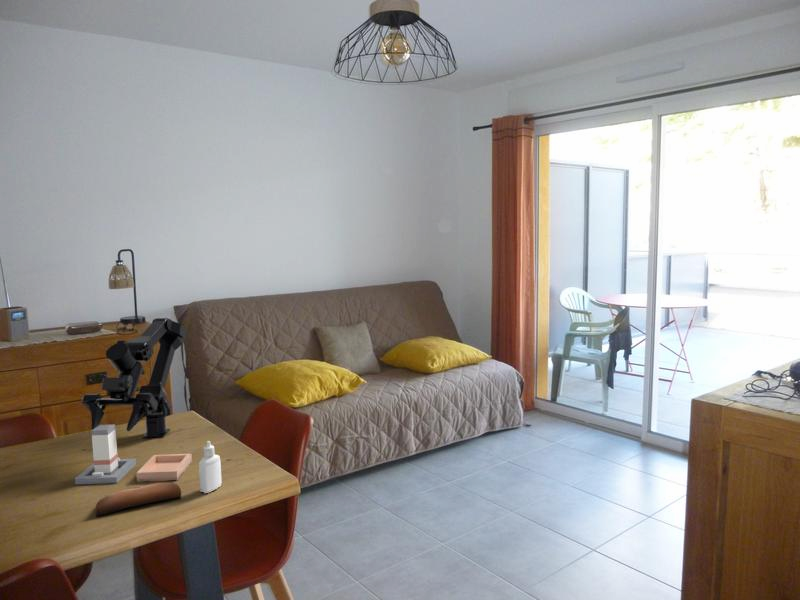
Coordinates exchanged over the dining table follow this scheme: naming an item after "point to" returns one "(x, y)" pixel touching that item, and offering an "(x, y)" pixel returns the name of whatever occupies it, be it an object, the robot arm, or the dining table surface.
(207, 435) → the dining table surface
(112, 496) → the sunglasses case
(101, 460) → the white rectangular block
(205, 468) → the eye dropper bottle
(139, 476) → the dish
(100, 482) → the clip frame
